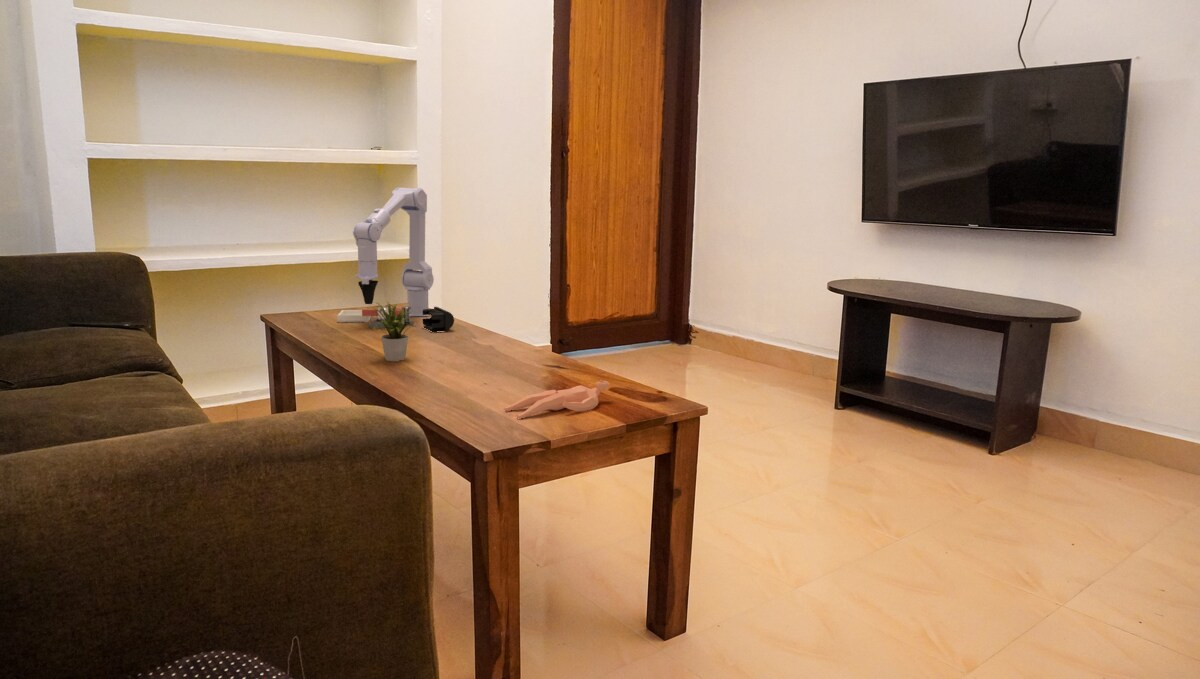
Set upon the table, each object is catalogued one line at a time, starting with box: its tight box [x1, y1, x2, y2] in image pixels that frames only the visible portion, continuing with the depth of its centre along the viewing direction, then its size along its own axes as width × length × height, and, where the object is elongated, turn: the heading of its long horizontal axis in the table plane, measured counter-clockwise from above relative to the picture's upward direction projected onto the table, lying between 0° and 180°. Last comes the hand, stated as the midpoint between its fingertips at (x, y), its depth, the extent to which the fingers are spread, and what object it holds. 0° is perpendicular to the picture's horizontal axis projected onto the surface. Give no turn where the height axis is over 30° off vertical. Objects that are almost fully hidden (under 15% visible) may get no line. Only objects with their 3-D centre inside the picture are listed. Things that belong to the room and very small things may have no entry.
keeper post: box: [401, 305, 414, 326], centre depth 258 cm, size 4×4×6 cm
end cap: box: [422, 306, 455, 333], centre depth 252 cm, size 10×7×7 cm
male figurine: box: [503, 379, 610, 420], centre depth 174 cm, size 11×5×25 cm
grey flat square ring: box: [368, 317, 386, 329], centre depth 255 cm, size 8×8×2 cm
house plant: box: [370, 301, 419, 362], centre depth 210 cm, size 14×14×16 cm
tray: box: [336, 309, 372, 324], centre depth 263 cm, size 9×9×2 cm
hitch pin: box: [377, 303, 389, 322], centre depth 254 cm, size 4×4×7 cm
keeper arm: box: [361, 308, 404, 317], centre depth 257 cm, size 13×3×2 cm, turn 99°
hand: (368, 303), depth 250 cm, fingers closed
